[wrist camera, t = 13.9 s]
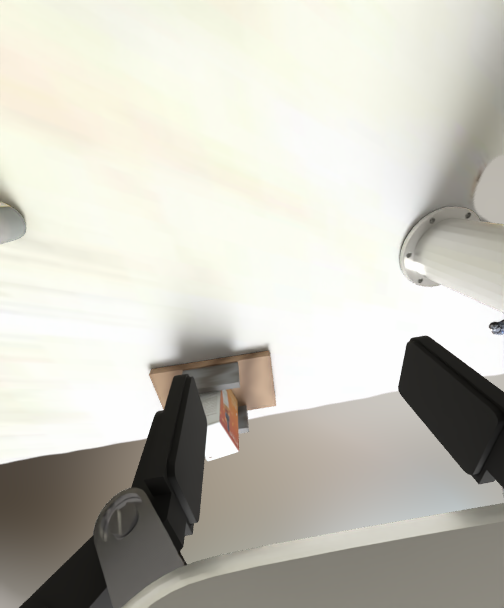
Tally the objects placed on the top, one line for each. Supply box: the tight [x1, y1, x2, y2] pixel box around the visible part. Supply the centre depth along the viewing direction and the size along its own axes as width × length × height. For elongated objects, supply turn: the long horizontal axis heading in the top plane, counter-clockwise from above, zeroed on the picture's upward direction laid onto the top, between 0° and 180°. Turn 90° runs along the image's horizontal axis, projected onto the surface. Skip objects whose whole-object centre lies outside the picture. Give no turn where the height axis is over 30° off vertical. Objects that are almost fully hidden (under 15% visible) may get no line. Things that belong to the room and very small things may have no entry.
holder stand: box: [149, 351, 276, 434], centre depth 44 cm, size 22×13×6 cm, turn 97°
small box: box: [199, 389, 239, 461], centre depth 41 cm, size 8×6×10 cm
